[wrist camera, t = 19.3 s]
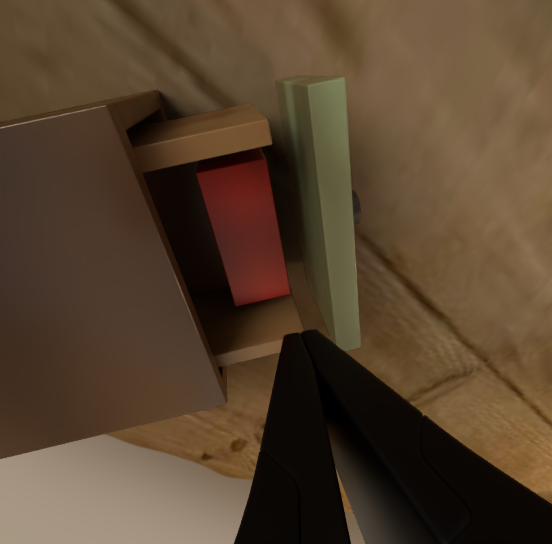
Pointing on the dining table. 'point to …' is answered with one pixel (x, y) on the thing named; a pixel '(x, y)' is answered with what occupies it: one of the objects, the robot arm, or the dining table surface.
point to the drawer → (308, 205)
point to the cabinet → (90, 285)
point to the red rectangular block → (244, 224)
